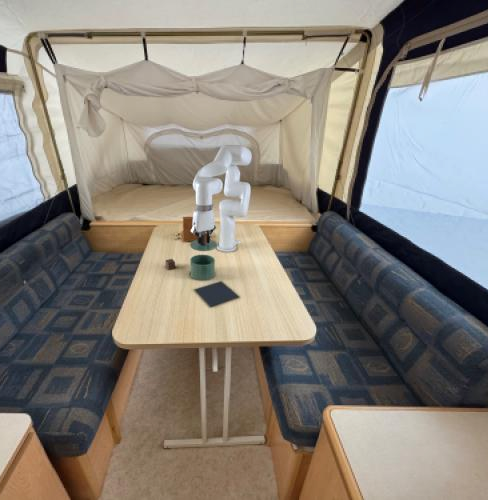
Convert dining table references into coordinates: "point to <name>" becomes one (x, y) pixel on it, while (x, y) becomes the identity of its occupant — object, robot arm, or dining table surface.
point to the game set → (188, 230)
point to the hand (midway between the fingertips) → (203, 242)
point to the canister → (202, 267)
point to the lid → (203, 244)
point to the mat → (216, 293)
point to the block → (170, 264)
